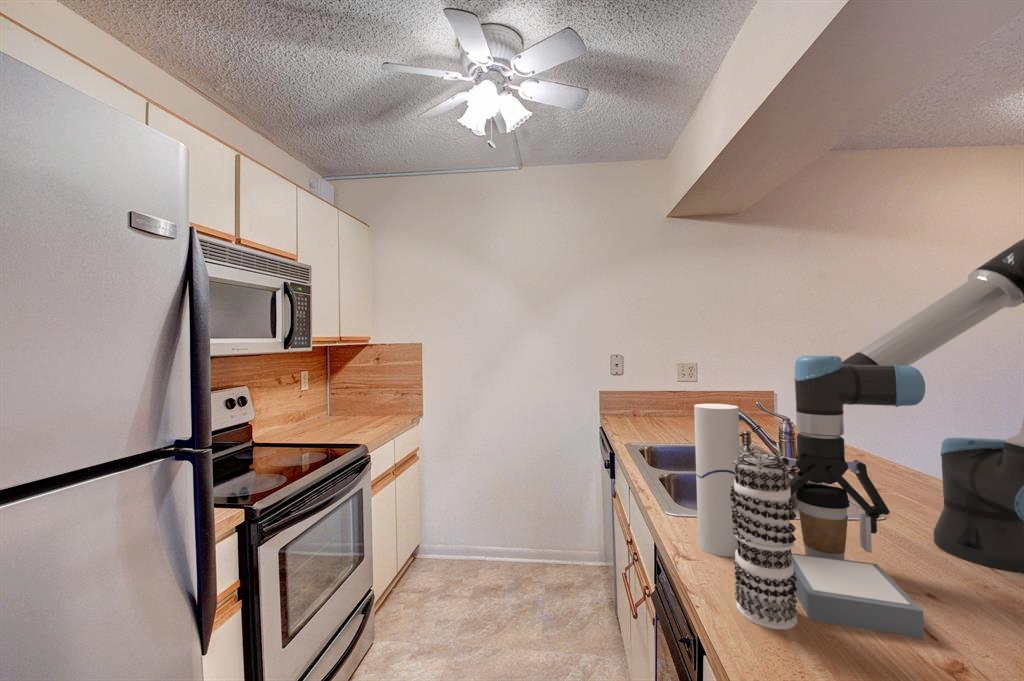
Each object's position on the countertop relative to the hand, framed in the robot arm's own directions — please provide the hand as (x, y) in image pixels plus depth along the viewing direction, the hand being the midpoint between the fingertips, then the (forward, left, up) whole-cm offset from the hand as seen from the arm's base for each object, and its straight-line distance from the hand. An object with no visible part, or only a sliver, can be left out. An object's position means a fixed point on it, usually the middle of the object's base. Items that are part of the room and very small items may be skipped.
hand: (822, 544), depth 81 cm
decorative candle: (+14, +20, -4) cm, 25 cm away
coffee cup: (0, 0, -4) cm, 4 cm away
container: (+18, -2, -4) cm, 19 cm away
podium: (+1, +13, -4) cm, 14 cm away
